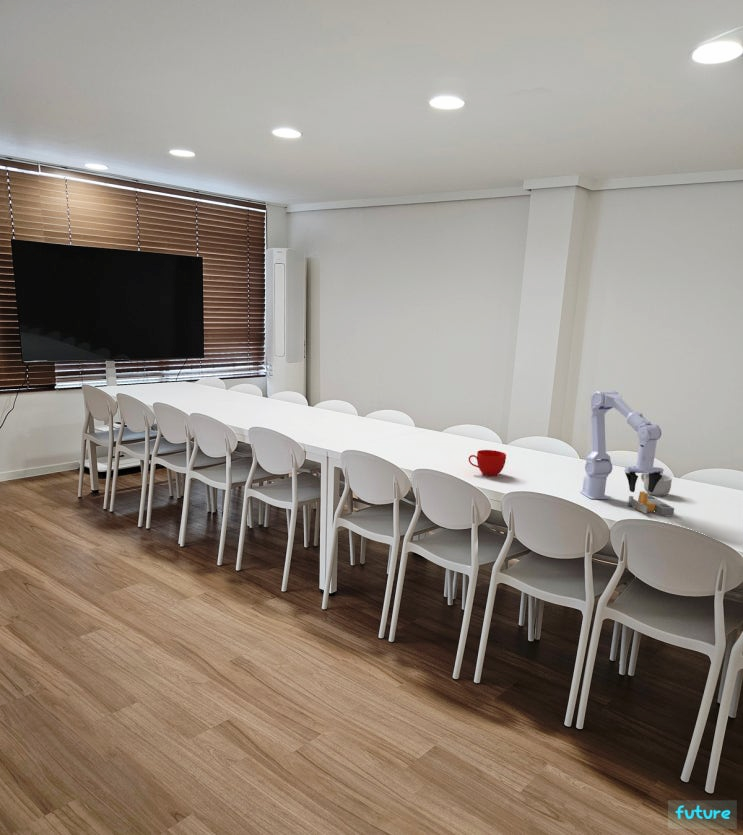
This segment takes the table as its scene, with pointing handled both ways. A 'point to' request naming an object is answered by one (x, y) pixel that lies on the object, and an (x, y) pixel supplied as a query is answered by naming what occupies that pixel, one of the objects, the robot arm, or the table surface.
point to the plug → (646, 502)
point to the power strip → (661, 506)
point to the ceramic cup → (489, 462)
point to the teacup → (658, 484)
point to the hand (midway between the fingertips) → (641, 491)
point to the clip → (637, 504)
